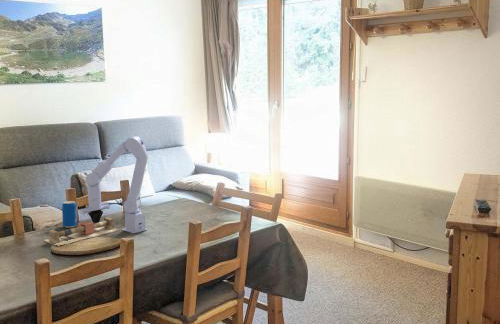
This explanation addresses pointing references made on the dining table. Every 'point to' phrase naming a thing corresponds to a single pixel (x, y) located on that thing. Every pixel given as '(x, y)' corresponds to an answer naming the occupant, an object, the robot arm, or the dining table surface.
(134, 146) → the robot arm
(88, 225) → the salmon red block
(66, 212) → the beverage can
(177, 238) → the dining table surface
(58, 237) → the rod rig
